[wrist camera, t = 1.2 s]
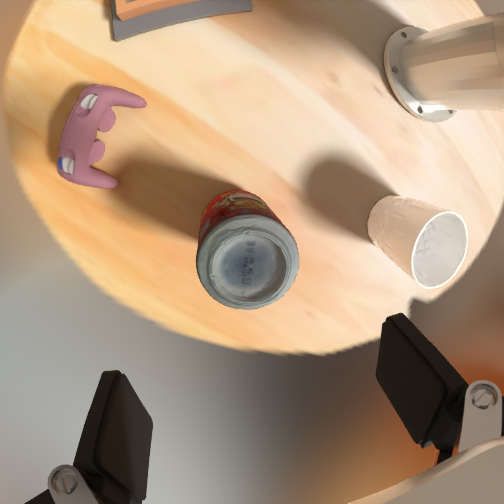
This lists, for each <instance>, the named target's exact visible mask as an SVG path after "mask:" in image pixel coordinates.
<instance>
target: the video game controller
mask: <svg viewBox="0 0 504 504" xmlns="http://www.w3.org/2000/svg"><path fill="white" fill-rule="evenodd" d="M111 106H124V107H130V108H144V107H146V106H147V102H146V101H145V100H144V99H143V98H141V97H140V96H138V95H136V94H133V93H131V92H128V91H126V90H124V89H120V88H116V87H111V86H105V85H97V84H92V85H89V86H88V87H86V88H85V89H84V90H83V91H82V92H81V94H80V95H79V97H78V100H77V103H76V104H75V105H74V107H73V109H72V111H71V113H70V115H69V117H68V119H67V121H66V124H65V127H64V130H63V133H62V137H61V142H60V149H59V158H58V161H57V171H58V173H59V175H60V176H62V177H63V178H65V179H66V180H67V181H69V182H72V183H75V184H78V185H83V186H89V187H96V188H104V189H111V188H115V187H117V186H118V181H117V180H116V179H115V178H114V177H112V176H110V175H109V174H106V173H104V172H102V171H99V170H97V169H93V168H91V165H92V164H93V163H95V162H97V161H99V160H100V159H101V158H102V157H103V155H104V152H105V144H104V143H103V142H102V141H100V140H98V139H95V138H96V134H97V131H98V130H100V131H102V132H107V131H109V130H110V129H111V128H112V127H113V125H114V123H115V120H116V116H115V113H114V112H113V110H112V109H111Z"/></svg>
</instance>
